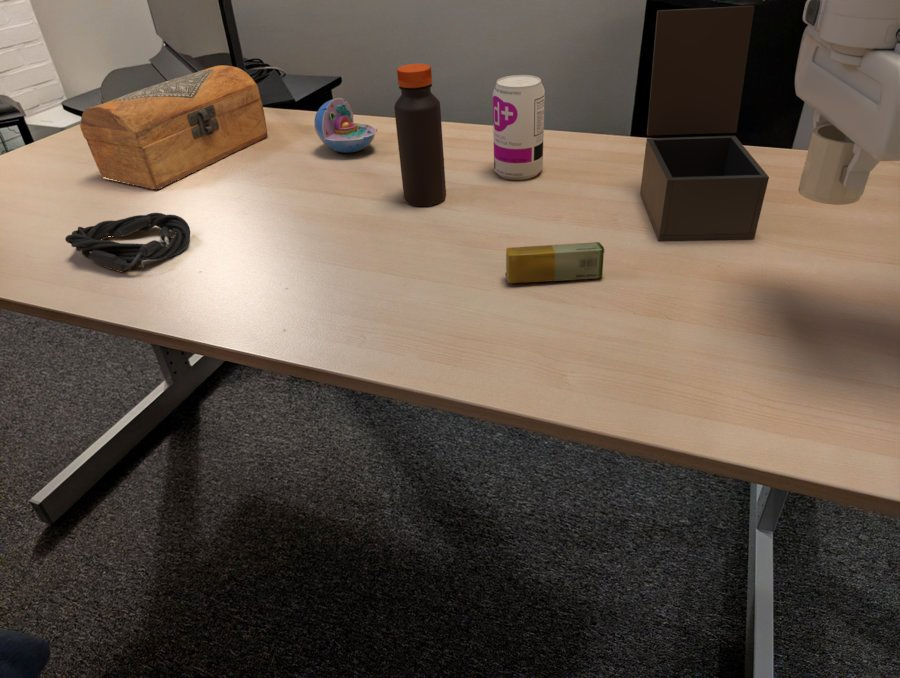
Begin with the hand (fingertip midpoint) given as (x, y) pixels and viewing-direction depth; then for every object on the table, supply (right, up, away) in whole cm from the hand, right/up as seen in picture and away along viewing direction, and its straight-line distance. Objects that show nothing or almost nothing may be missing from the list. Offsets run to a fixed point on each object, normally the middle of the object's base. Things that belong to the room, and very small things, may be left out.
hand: (835, 171), depth 63 cm
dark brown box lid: (-3, +21, +28) cm, 35 cm away
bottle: (-42, +6, +41) cm, 59 cm away
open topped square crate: (-2, +2, +31) cm, 31 cm away
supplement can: (-26, +12, +48) cm, 56 cm away
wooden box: (-88, +19, +63) cm, 110 cm away
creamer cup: (0, -2, +1) cm, 2 cm away
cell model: (-57, +20, +61) cm, 86 cm away
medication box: (-24, -9, +19) cm, 32 cm away
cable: (-84, -3, +33) cm, 91 cm away
